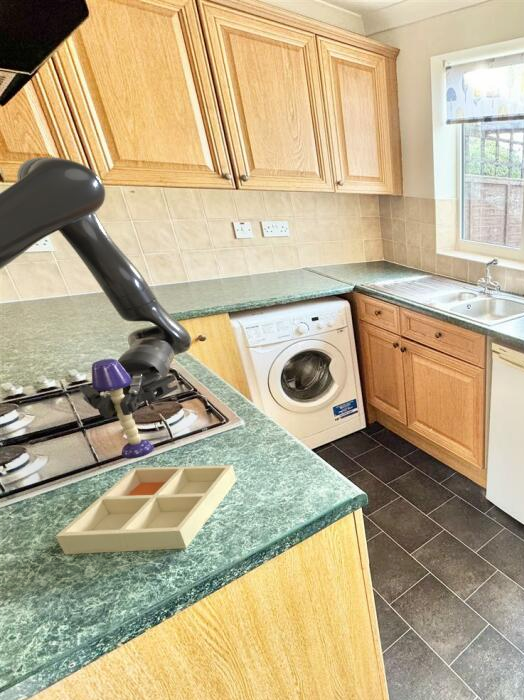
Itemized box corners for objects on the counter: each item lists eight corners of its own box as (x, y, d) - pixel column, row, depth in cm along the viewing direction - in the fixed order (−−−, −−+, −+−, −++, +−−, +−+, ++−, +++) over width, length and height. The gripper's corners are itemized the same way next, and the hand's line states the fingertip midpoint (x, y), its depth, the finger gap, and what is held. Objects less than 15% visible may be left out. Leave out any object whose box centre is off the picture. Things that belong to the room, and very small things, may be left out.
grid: (64, 554, 62) (55, 536, 60) (140, 483, 76) (133, 467, 75) (186, 548, 64) (179, 530, 62) (236, 480, 79) (232, 465, 77)
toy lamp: (120, 463, 68) (87, 369, 62) (115, 450, 71) (82, 360, 64) (157, 452, 72) (129, 362, 65) (150, 441, 75) (123, 354, 68)
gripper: (86, 355, 74) (44, 397, 61) (181, 347, 80) (163, 383, 67) (101, 392, 78) (64, 440, 64) (191, 382, 84) (176, 423, 70)
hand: (115, 411), depth 65 cm, fingers closed on toy lamp
